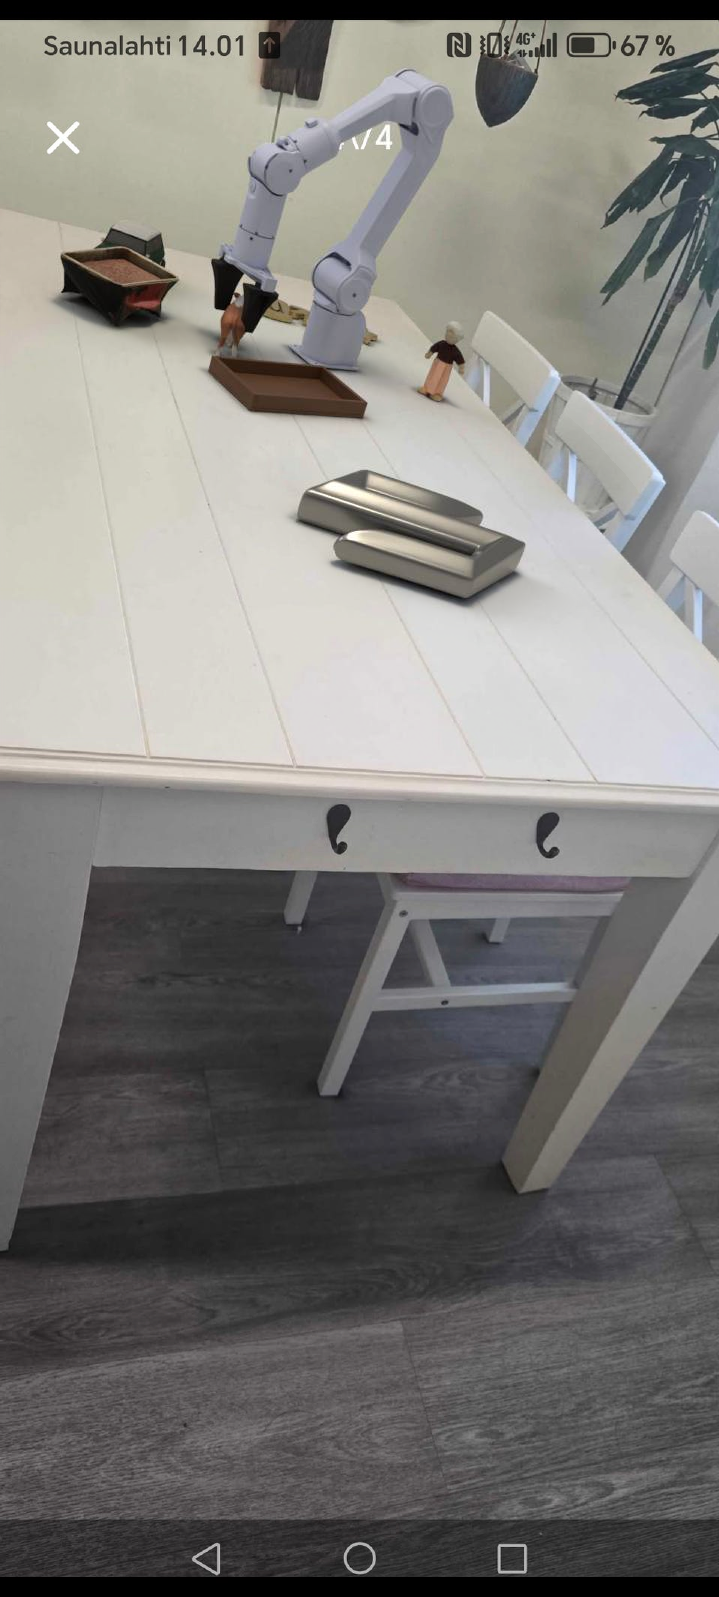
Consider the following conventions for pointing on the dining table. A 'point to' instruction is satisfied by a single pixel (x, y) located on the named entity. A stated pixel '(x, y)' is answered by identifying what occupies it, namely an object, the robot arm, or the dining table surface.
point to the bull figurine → (232, 325)
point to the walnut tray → (286, 387)
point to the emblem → (410, 532)
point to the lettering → (300, 316)
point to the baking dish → (117, 281)
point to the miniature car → (136, 240)
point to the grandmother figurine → (444, 361)
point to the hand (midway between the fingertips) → (233, 320)
